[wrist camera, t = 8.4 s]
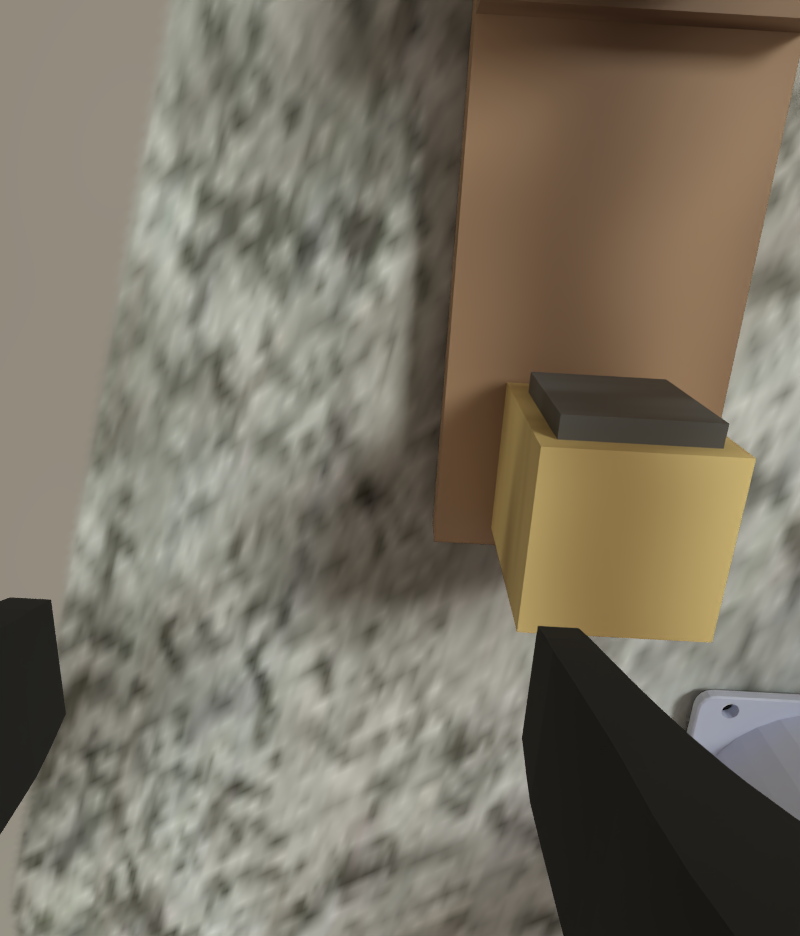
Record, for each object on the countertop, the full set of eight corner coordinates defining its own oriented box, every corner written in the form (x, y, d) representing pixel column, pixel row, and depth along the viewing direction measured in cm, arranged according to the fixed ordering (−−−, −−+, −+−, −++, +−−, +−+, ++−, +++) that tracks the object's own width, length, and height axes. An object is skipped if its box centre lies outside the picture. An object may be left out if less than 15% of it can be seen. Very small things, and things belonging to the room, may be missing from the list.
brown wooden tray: (871, -409, 14) (1203, -844, 8) (676, 536, 21) (779, 667, 15) (506, -433, 14) (577, -889, 8) (432, 522, 21) (442, 648, 15)
